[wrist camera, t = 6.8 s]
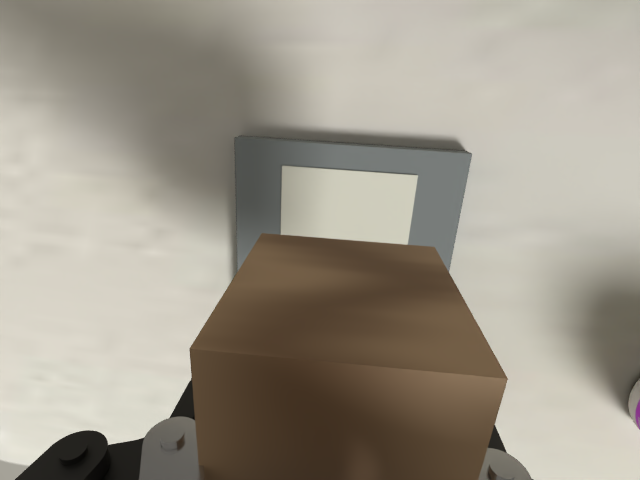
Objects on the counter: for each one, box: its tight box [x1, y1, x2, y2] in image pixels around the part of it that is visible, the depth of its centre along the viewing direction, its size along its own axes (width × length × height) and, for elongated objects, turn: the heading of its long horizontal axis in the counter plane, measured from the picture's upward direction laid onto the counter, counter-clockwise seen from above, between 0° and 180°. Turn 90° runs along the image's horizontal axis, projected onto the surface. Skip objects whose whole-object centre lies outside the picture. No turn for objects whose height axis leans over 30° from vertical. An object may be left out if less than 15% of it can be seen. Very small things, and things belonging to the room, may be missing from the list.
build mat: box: [235, 136, 472, 272], centre depth 22 cm, size 12×12×1 cm
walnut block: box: [190, 233, 508, 480], centre depth 11 cm, size 6×8×6 cm
